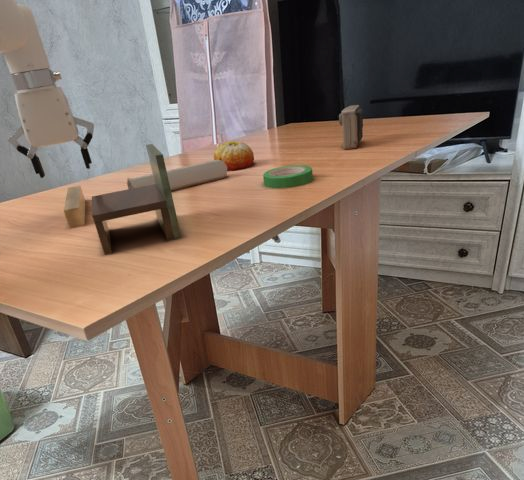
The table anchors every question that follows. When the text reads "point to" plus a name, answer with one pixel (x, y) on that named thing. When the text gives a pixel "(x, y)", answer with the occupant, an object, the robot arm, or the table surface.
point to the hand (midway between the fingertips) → (65, 172)
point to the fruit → (235, 155)
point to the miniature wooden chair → (138, 203)
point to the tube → (185, 175)
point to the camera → (351, 126)
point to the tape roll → (288, 176)
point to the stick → (75, 207)
